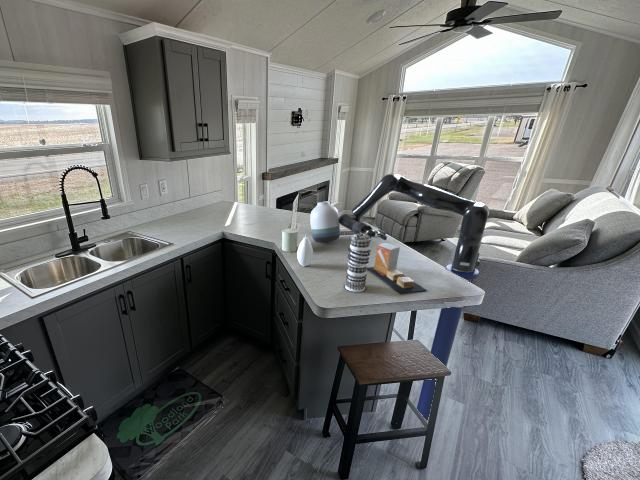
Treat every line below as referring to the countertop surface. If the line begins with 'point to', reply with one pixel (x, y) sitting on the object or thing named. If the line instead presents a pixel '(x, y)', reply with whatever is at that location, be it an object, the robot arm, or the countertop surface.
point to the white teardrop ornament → (305, 252)
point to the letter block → (405, 282)
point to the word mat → (394, 283)
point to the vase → (325, 223)
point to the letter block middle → (394, 274)
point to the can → (289, 240)
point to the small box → (386, 257)
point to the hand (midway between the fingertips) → (378, 238)
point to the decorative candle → (358, 262)
